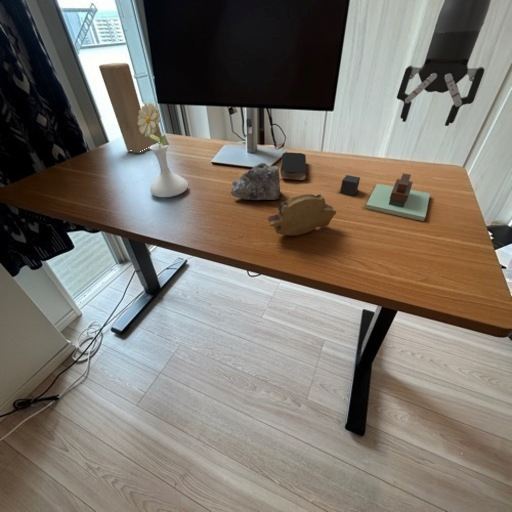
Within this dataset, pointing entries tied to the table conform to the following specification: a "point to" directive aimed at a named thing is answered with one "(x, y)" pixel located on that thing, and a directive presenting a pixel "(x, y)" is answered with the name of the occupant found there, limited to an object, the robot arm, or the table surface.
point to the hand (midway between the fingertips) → (424, 123)
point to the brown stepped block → (401, 191)
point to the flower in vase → (160, 154)
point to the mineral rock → (258, 183)
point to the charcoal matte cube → (350, 185)
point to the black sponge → (293, 166)
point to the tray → (412, 207)
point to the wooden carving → (302, 215)
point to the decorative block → (126, 106)
